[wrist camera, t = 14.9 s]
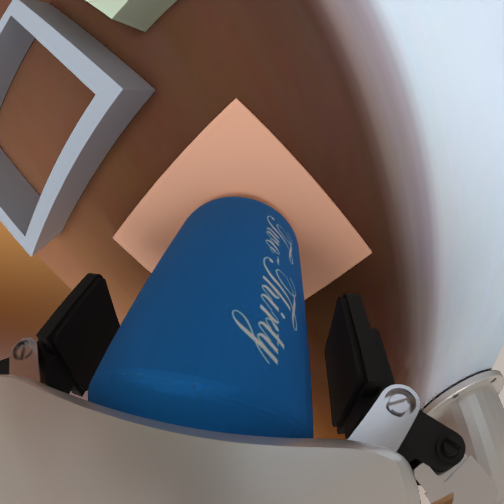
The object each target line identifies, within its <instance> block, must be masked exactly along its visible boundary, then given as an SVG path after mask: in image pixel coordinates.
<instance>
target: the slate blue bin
mask: <svg viewBox="0 0 504 504" xmlns="http://www.w3.org/2000/svg"><path fill="white" fill-rule="evenodd" d="M35 38H36V39H37V40H38V41H39V42H40V43H41V44H42V45H44V46H45V47H46V48H47V49H48V50H49V51H50V52H51V53H52V54H53V55H54V56H55V57H56V58H57V59H59V60H60V61H61V62H62V63H63V64H64V65H65V66H66V67H67V68H68V69H69V70H70V71H71V72H72V73H73V74H75V75H76V76H77V77H78V78H79V79H80V80H81V81H82V82H83V83H84V84H85V85H86V86H87V87H88V88H89V89H90V90H91V91H93V92H94V93H95V94H96V95H95V97H94V98H93V100H92V101H91V103H90V104H89V106H88V107H87V109H86V111H85V112H84V114H83V115H82V117H81V119H80V120H79V122H78V123H77V125H76V127H75V129H74V130H73V132H72V134H71V135H70V137H69V139H68V141H67V143H66V144H65V146H64V148H63V150H62V152H61V154H60V156H59V158H58V160H57V162H56V164H55V166H54V168H53V170H52V172H51V174H50V176H49V178H48V180H47V183H46V185H45V187H44V189H43V192H42V194H41V196H40V195H39V194H38V193H37V192H36V191H35V190H34V188H33V187H32V186H31V185H30V184H29V183H28V181H27V180H26V179H25V178H24V177H23V175H22V174H21V173H20V172H19V170H18V169H17V168H16V167H15V165H14V164H13V163H12V162H11V160H10V159H9V158H8V157H7V155H6V154H5V153H4V151H3V150H2V149H1V147H0V220H1V222H2V223H3V224H4V225H5V227H6V228H7V229H8V230H9V232H10V233H11V234H12V235H13V236H14V238H15V239H16V240H17V241H18V242H19V244H21V246H22V247H23V248H24V249H25V250H26V251H27V253H29V255H30V256H31V257H32V256H33V255H34V254H36V253H37V252H38V251H39V250H40V249H41V248H43V247H44V246H45V245H46V244H48V243H49V242H50V241H51V240H52V239H54V238H55V237H56V236H57V235H59V234H60V233H61V232H62V230H63V228H64V226H65V224H66V222H67V220H68V218H69V216H70V214H71V213H72V211H73V209H74V207H75V205H76V203H77V202H78V200H79V198H80V196H81V195H82V193H83V191H84V190H85V188H86V186H87V185H88V183H89V181H90V180H91V178H92V176H93V175H94V173H95V172H96V170H97V168H98V167H99V165H100V164H101V162H102V161H103V159H104V158H105V156H106V155H107V153H108V152H109V150H110V149H111V147H112V146H113V145H114V143H115V142H116V140H117V139H118V138H119V136H120V135H121V133H122V132H123V131H124V129H125V128H126V127H127V125H128V124H129V123H130V121H131V120H132V119H133V118H134V116H135V115H136V114H137V112H138V111H139V110H140V109H141V107H142V106H143V105H144V104H145V103H146V101H147V100H148V99H149V98H150V97H151V95H152V94H153V93H154V92H155V91H156V90H155V89H154V88H153V87H152V86H151V85H149V84H148V83H147V82H146V81H145V80H144V79H143V78H141V77H140V76H139V75H138V74H137V73H136V72H135V71H133V70H132V69H131V68H130V67H129V66H128V65H126V64H125V63H124V62H123V61H122V60H121V59H119V58H118V57H117V56H116V55H115V54H113V53H112V52H111V51H110V50H109V49H107V48H106V47H105V46H104V45H103V44H101V43H100V42H99V41H98V40H96V39H95V38H94V37H93V36H92V35H90V34H89V33H88V32H86V31H85V30H84V29H83V28H81V27H80V26H79V25H78V24H76V23H75V22H74V21H72V20H71V19H70V18H69V17H67V16H66V15H65V14H63V13H62V12H61V11H59V10H58V9H57V8H55V7H54V6H53V5H51V4H50V3H46V2H42V1H37V0H12V2H11V3H10V5H9V7H8V8H7V10H6V12H5V13H4V15H3V17H2V19H1V20H0V108H1V105H2V103H3V100H4V98H5V95H6V93H7V91H8V89H9V86H10V84H11V82H12V80H13V78H14V76H15V74H16V72H17V70H18V68H19V66H20V64H21V62H22V60H23V58H24V56H25V54H26V53H27V51H28V49H29V47H30V46H31V44H32V42H33V41H34V39H35Z"/></svg>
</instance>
